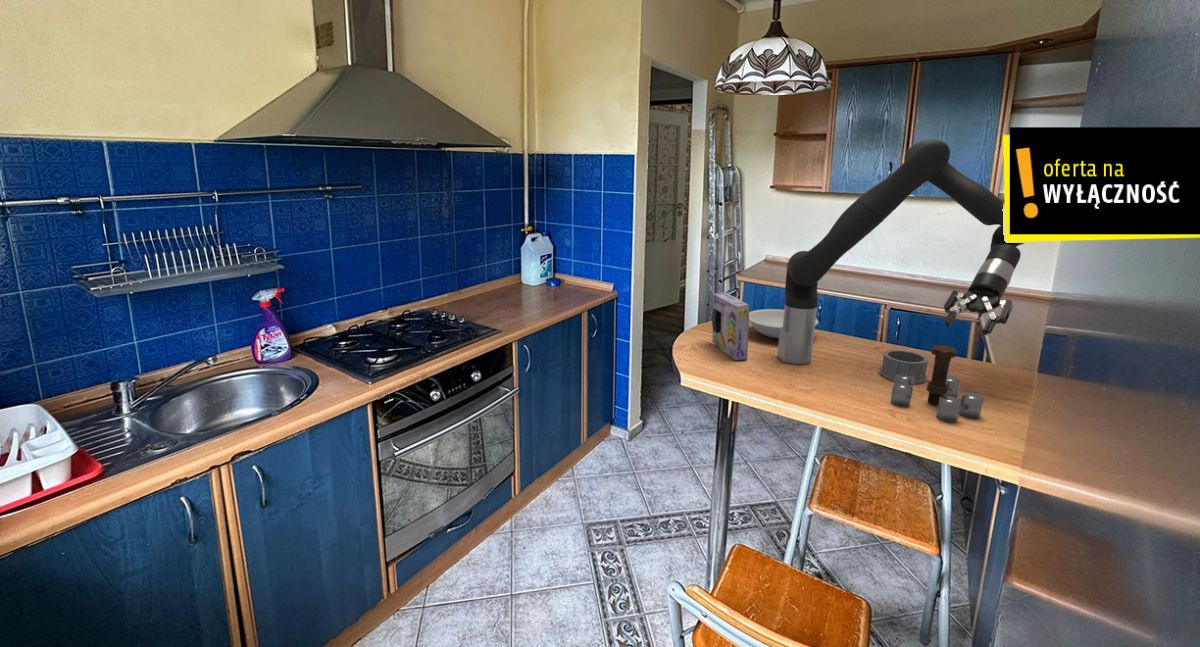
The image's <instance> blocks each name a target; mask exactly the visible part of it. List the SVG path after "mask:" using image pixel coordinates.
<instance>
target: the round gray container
mask: <svg viewBox="0 0 1200 647" xmlns="http://www.w3.org/2000/svg"><path fill="white" fill-rule="evenodd" d="M882 358H883V359H882V364H881V367H880V368H879V372H878V373H879V374H878V375H879V376H880V377H882V378H883V379H886V380H888V381H890V380H891V381H892V382H893V383H895V377H896V374H899V373H903V374H909V375H912V376H914V378H915V379H914V385H921V384H925V383H926V382H927V378H928V376H927V367H928V364H929V358H928V357H927V356H925V355H923V354H920V353H917V352H914V351H909V350H901V349H890V350H886V351H884V352H883V357H882Z"/></svg>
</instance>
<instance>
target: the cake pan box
mask: <svg viewBox="0 0 1200 647" xmlns="http://www.w3.org/2000/svg"><path fill="white" fill-rule="evenodd" d="M712 309H713V310H712V315H711V324H712V334H711V335H712V340H711V343H712V342H713V343H714V344H715V345H716V346H718V347H719V348H720V349H721V350H720V349H719V348H718V347H717V348H718V349H719V350H720V351H722V352H723V353H724V354H725V355H727V356H728V357H730V358H731V359H732V360H733V361H748V355H749V354H748V350H749V349H748V348H749V322H750V321H749V312H750V304H748V303H746V302H744V301H742V300H741V299H740V298H737V297H736V296H733V295H731V294H729V293H728V292H726V291H724V292H717V293H713V300H712ZM714 344H713V345H714ZM715 345H714V346H715ZM716 346H715V347H716Z"/></svg>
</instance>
